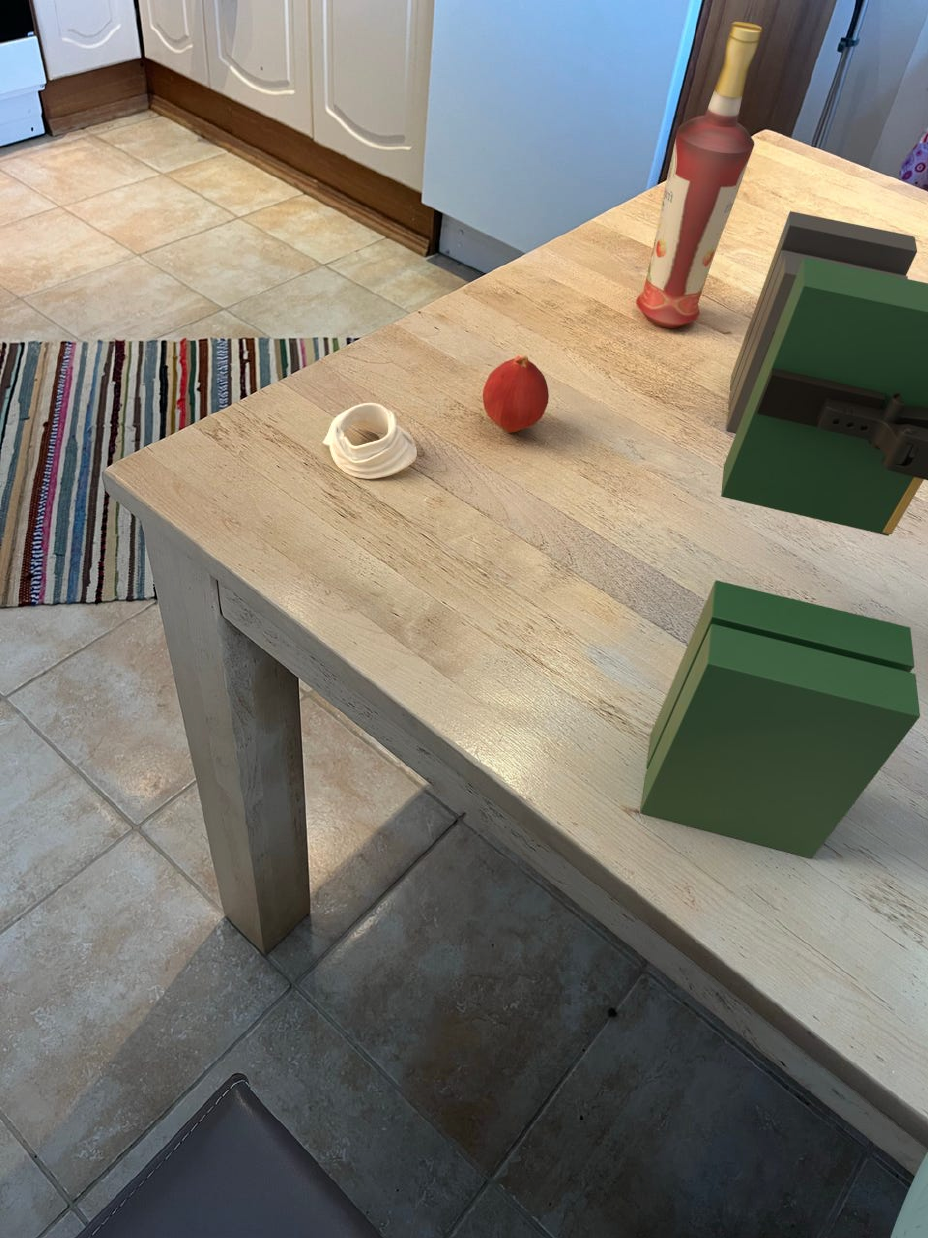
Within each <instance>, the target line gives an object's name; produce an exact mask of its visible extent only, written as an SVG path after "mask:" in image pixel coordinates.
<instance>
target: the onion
mask: <svg viewBox="0 0 928 1238" xmlns="http://www.w3.org/2000/svg"><path fill="white" fill-rule="evenodd" d="M549 393H550V391H549V387H548V383H547V379H546V378H545V375H544V374H543V372H542V371H541V370H540V369H539V368H538V367H537V366H536V364H535V363H533V362H531V361H530V360H529V357H528V356H527V355H526V354H523V353H521V354H519V355H518V356H517V357H515V358H511V359H509V360H505V361H504V362H503V363H501V364H500V365H498V366H497V367H495V369H493V370H492V371H491V372H490V373H489V375H488V378H487V380H486V382H485V384H484V387H483V390H482V403H483V407H484V411H485V413H486V415H487V416H488V418H489V419H490V420H491V421H492V422H493V423H494V424H495V425H497V426H498V427H500V428H502V430H504V431H505V432H506V433H508V434H514V433H517V432H519V431H521V430H524V429H526V428H529V427H531V426H533V425H536V423H538V422H539V421H540V420H541V419H542V418H543V416H544V414H545V412H546V410H547V408H548V404H549V397H550V394H549Z"/></svg>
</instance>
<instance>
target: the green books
mask: <svg viewBox="0 0 928 1238" xmlns="http://www.w3.org/2000/svg"><path fill="white" fill-rule="evenodd" d="M911 630H912V629H911V627H910V626H908V625H907V626H906V625H902V624H899V623H893V622H890V621H886V620H882V619H878V618H873V617H869V616H865V615H861V614H857V613H853V612H848V611H845V610H841V609H837V608H833V607H827V606H823V605H820V604H816V603H812V602H807V601H803V600H799V599H795V598H791V597H786V596H782V595H778V594H775V593H770V592H766V591H761V590H757V589H754V588H750V587H745V586H741V585H737V584H733V583H729V582H726V581H720V580H715V581H714V582H713V584H712V586H711V590H710V591H709V595H708V596H707V599H706V601H705V603H704V606H703V608H702V610H701V614H700V616H699V618H698V620H697V622H696V625H695V628H694V630H693V632H692V634H691V637H690V638H689V642H688V644H687V647H686V649H685V652H684V653H683V656H682V658H681V661H680V663H679V665H678V668H677V670H676V673H675V674H674V678H673V679H672V682H671V685H670V687H669V690H668V692H667V694H666V697H665V699H664V702H663V703H662V705H661V708H660V711H659V713H658V715H657V718H656V720H655V723H654V725H653V727H652V730H651V732H650V736H649V744H648V750H647V751H648V752H647V758H646V764H645V765H646V766H645V769H646V772H645V774H644V779H643V786H642V787H643V788H642V793H641V795H642V796H641V800H640V801H641V802H640V810H639V813H640V814H643V815H646V816H651V817H655V818H658V819H662V820H666V821H669V822H673V823H677V824H680V825H683V826H688V827H691V828H694V829H695V828H696V829H699V830H702V831H705V832H706V831H707V832H710V833H714V834H717V835H721V836H726V837H730V838H734V839H736V840H741V841H744V842H748V843H751V844H755V845H758V846H763V847H767V848H770V849H775V850H777V851H781V852H785V853H789V854H793V855H795V856H796V855H797V856H800V857H804V858H808V859H813V858H814V856H815V855H816V854H817V853H818V852H819V850H820V849H821V847H823V845H824V843H825V842H826V841H827V840H828V838H829V837H830V836H831V835H832V833H833V832H834V831H835V829H836V828H837V826H838V825H839V824H840V822H841V821H842V820H843V819H844V817H845V816H846V815H847V813H848V812H849V811H850V809H851V808H852V807H853V805H854V804H855V803H856V801H857V800H858V799H859V798H860V796H861V795H862V794H863V792H864V791H865V790H866V789H867V787H868V786H869V784H870V783H871V782H872V781H873V779H874V778H875V777H876V775H877V774H878V773H879V771H880V770H881V769H882V768H883V766H884V765H885V763H887V762H888V760H889V758H890V757H891V755H892V754H893V753H894V752H895V750H896V749H897V747H899V745H900V744H901V742H902V741H903V740H904V739H905V738H906V736H907V735H908V734H909V732H910V731H911V729H912V728H913V727H914V725H915V724H916V723H917V721H918V720H919V719H920V717H921V712H920V703H919V695H918V693H919V692H918V684H917V676H916V675H917V674H916V673H913V672H912V671H913V669H914V668H915V658H914V650H913V649H914V648H913V639H912V631H911Z"/></svg>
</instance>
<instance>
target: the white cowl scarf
mask: <svg viewBox="0 0 928 1238" xmlns="http://www.w3.org/2000/svg"><path fill="white" fill-rule="evenodd" d="M353 425H354V426H356V427H357V428H360V429H362V430H365V431H368V432H370V433H373V434H375V435H376V436H377V437H378V438H379V439H377V440H374V441H371V442H367V443H364V444H360V445H353V444H352V443H351V441H350V440H349V439H348V437H347V436H346V435H345V434H346V432H347V431H348V430H349V429H350V428H351V427H352V426H353ZM322 444H324V445H325V446H327V447H329V452H330V455H331V457H332V460H333V461H334V463H335V465H336V466H337V467H338V468H339V469H340V470H341V471H343V472H344V473H346V474H348V476H351V477H355V478H359V479H365V480H374V479H379V478H385V477H388V476H391V475H394V474H396V473H399V472H401V471H402V470H405V469H406V468H407V467H409V466H410V465H412V464H413V463H414V462H415V461H416V459H417V456H418V449H417V446H416V442H415V440H414V438H413V437H412V436H411V435H410V434H409V433H408V432H407V431H406V430H405V429H404V428H402V427H400V426H399V425H398V419H397V417H396V414H395V413H394V411H392V410H390V409H388V408H386V407H385V406H384V405H382V404H379V403H377V402H364V403H359V404H357V405H354V406H352V407H350V408H348V409H347V410H345V411H343V412H341V413H340V414H338V415H337V416H336V417H335V418H334V419H333V420H332V422H331V423H330V426H329V429H328V431H327V434H326V436H325V438H324V439H323V441H322Z"/></svg>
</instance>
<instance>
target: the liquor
mask: <svg viewBox="0 0 928 1238" xmlns="http://www.w3.org/2000/svg"><path fill="white" fill-rule="evenodd" d="M762 31H763V28H762V27H761V26H759V25H757V24H754V23H751V22H747V21H734V22H732V23H731V26H730V29H729V33H728V37H727V41H726V45H725V51H724V61H723V65H722V68H721V71H720V74H719V77H718V79H717V81H716V84H715V88H714V90H713V93H712V96H711V99H710V100H709V104H708V107H707V110H706V112H705V114H704V115H700V116H694V117H693V118H690V119H689V120H687V121H685V122H683V123H682V124H680V125H679V126H678V128H677V129H676V134H675V140H674V144H673V148H672V149H673V150H672V154H671V159H670V163H669V168H668V173H667V178H666V181H665V187H664V192H663V198H662V203H661V207H660V213H659V219H658V224H657V227H656V233H655V237H654V242H653V245H652V246H653V247H652V251H651V256H650V261H649V265H648V269H647V273H646V278H645V282H644V286H643V291H642V292H641V293H640V294H639V295H638V296H637V298H636V306H637V307H638V309H639V310H640V312H641V314H643V317H644V318H645V319H646V320H647V321H648V322H649V323H651V324H653V325H655V326H657V327H659V328H663V329H664V328H665V329H676V328H680V327H683V326H685V325H687V324H689V323H691V322H694V321H695V320H697V319H698V317H699V316H700V308H699V302H700V299H701V296H702V293H703V289H704V286H705V284H706V281H707V278H708V275H709V272H710V269H711V266H712V263H713V261H714V258H715V255H716V252H717V249H718V246H719V243H720V241H721V238H722V235H723V233H724V230H725V227H726V225H727V222H728V219H729V217H730V214H731V212H732V209H733V206H734V204H735V201H736V200H737V199H736V198H737V196H738V193H739V190H740V187H741V184H742V181H743V178H744V176H745V172H746V169H747V167H748V164H749V161H750V158H751V155H752V153H753V150H754V147H755V141H754V138H753V137H752V136H751V134H750V132H749V131H748V130H747V128H746V127H744V126H743V125H742V124H741V123H739V122H738V120H739V114H740V108H741V105H742V104H741V103H742V100H743V95H744V91H745V85H746V80H747V77H748V76H747V75H748V71H749V68H750V66H751V64H752V61H753V59H754V56H755V54H756V52H757V49H758V46H759V41H760V38H761V36H762Z"/></svg>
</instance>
